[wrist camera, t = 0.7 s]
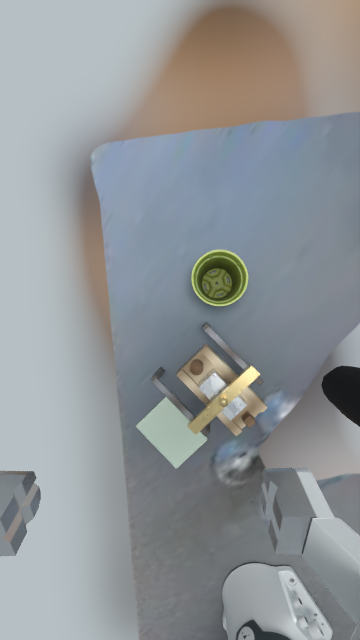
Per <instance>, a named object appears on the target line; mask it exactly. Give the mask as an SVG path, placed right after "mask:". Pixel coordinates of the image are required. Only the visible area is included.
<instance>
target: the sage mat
mask: <svg viewBox="0 0 360 640" xmlns="http://www.w3.org/2000/svg"><path fill="white" fill-rule="evenodd" d="M189 422H190V420H189V419H188V418H187V417H186V416H185V415H184V414H183V413H182V412H181V411H180V410H179V409H178V408H177V407H176V406H175V405H174V404H173V403H172V402H171V401H170V400H169V399H168V398H167V397H165V398H164V399H163V400H162V401H161V402H160V403H159V404H158V405H157V406H156V407H155V408H153V409H152V410H151V411H150V412H149V413H148V414H147V415H146V416H145V417H144V418H143V419H142V420H141V421H140V422H139V423H138V424H137V425H136V427H137V428H138V429H139V430H140V431H141V433H142V434H143V435H144V436H145V437H146V438H147V439H148V440H149V441H150V442H151V443H152V444H153V445H154V446H155V447H156V448H157V449H158V450H159V451H160V452H161V453H162V454H163V455H164V457H165V458H166V459H167V460H168V461H169V462H170V463H171V464H172V465H173V466H174V467H175V468H176V469H177V468H178V467H179V466H180V465H181V464H182V463H183V462H184V461H185V460H186V459H187V458H189V457H190V456H191V455H192V454H193V453H194V452H195V451H196V450H197V449H198V448H199V447H200V446H201V445H203V444H204V443H205V442H206V441H207V440H208V438H207V437H206V436H205V435H203V434H202V433H201V432H198V433H197V434H196V435H195V434H194V433H193V432H192V431H191V430H190V429H189V428H188V427H187V426H188V423H189Z"/></svg>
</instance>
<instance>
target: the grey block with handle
mask: <svg viewBox="0 0 360 640" xmlns="http://www.w3.org/2000/svg"><path fill="white" fill-rule="evenodd" d="M228 385H229V383H228V382H227V381H226V379H225V378H224V377H223V376H222V375H221V374H220V373H219V372H218V371H217V370H216V369H215V368H213V369H212V370H211V371H210V372H209V373H208V374H207V375H206V376H204V377H203V378H202V379H201V380H200V381H199V385H198V388H199V389H200V390H201V391H202V392H203V393H204V394H205V395H206V396H207V397H208V398H209V399H210V400H211V401H212V400H213V399H214V398H215V397H216V396H217V395H219V394H220V393H221V392H222V391H223V390H224V389H225V388H226V387H227V386H228ZM246 406H247V404H246V402H245V400H244V398H243V397H242V396H241V395H240V394H239V395H238V396H237V397H236V398H235V399H234V400H233V401H232V402H230V403H229V404H228V405H227V406H226V407H225V408H224V409H223V410H222V411H221V412H222V413H223V414H224V415H225V416H226V417H227V418H228V419H229V420H230V421H231V420H232V419H233V418H234V417H235V416H236V415H237V414H238V413H239V412H241V411H242V410H243V409H244V408H245V407H246Z"/></svg>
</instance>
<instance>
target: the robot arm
mask: <svg viewBox="0 0 360 640" xmlns="http://www.w3.org/2000/svg"><path fill="white" fill-rule="evenodd" d="M35 479H36V476H35V473H34V472H32V471H0V556H15V555H16V553H17V551H18V549H19V547H20V545H21V543H22V541H23V539H24V537H25V535H26V533H27V530H26V524H27V523H28V522H29V521H31V520H32V518H34V516H35V514H36V512H37V510H38V507H39V502H40V498H41V497H40V489H39V486H37V485H36V484H35V483H34V481H35ZM263 479H264V483H263V484H262V485H261V502H262V508H263V512H264V515H265V517H266V518H267V519H268V520H269V521H270V525H269V534H270V537H271V541H272V544H273V548H274V551H275V554H292V555H302V557H303V558H304V559H305V561H306V562H307V563H308V564H309V566H310V567H311V568H312V569H313V571H314V572H315V573H316V575H317V576H318V577H319V578H320V580H321V581H322V582H323V583H324V585H325V586H326V587H327V588H328V590H329V591H330V592H331V593H332V595H333V596H334V597H335V599H336V600H337V601H338V602H339V604H340V605H341V606H342V607H343V609H344V610H345V611H346V612H347V614H348V615H349V616H350V618H351V619H352V620H353V621H354V623H355V624H356V625H357V626H356V628H355V631H354V633H353V635H352V637H351V639H350V640H360V536H359V535H358V534H357V533H356V532H355V531H354V530H353V529H351V528H350V527H349V526H348V525H347V524H346V523H345V522H343V521H342V520H341V519H340V518H334V516H333V514H332V512H331V510H330V508H329V506H328V504H327V502H326V500H325V498H324V496H323V494H322V492H321V490H320V488H319V486H318V484H317V482H316V480H315V478H314V476H313V474H312V472H311V471H310V470H309V469H308V468H298V469H296V468H295V469H292V468H278V469H277V468H276V469H264V471H263ZM291 578H292V579H291ZM222 599H223V604H224V613H223V618H222V622H223V627H224V629H225V630H226V631H227V635H228V640H331V637H332V629H331V626H330V624H329V623H328V621H327V620H326V618H325V617H324V615H323V614H322V612H321V611H320V609H319V608H318V606H317V604H316V603H315V601H314V600H313V598H312V597H311V595H310V594H309V592H308V591H307V589H306V588H305V586H304V585H303V583H302V582H301V580H300V579H299V577H298V576H297V574H296V573H295V571H294V570H293V568H291V567H290V566H278V567H274V566H269V565H266V564H260V563H251V564H246V565H243V566H240V567H238V568H237V569H235V570H234V571H233V572H231V573H230V575H229V576H228V577H227V579H226V580H225V583H224V585H223V590H222Z"/></svg>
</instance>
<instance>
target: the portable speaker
mask: <svg viewBox="0 0 360 640" xmlns="http://www.w3.org/2000/svg"><path fill="white" fill-rule="evenodd" d="M322 388H323V392H324V394H325V395H326V397H327V398H328V400H329V401H330V402H331V403H333V404H334V405H335V406H336V407H337V408H338V409H339V410H340V411H341V413H342V414H344V415H345V416H346V417H347V418H349V419H350V420H351V421H353V422H354V423H355V424H357V425H358V426H359V427H360V368H357V367H350V366H340V367H337V368H335V369H333V370H332V371H330V372H329V373H328V374H327V375H325V376H324V378H323V382H322Z"/></svg>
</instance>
